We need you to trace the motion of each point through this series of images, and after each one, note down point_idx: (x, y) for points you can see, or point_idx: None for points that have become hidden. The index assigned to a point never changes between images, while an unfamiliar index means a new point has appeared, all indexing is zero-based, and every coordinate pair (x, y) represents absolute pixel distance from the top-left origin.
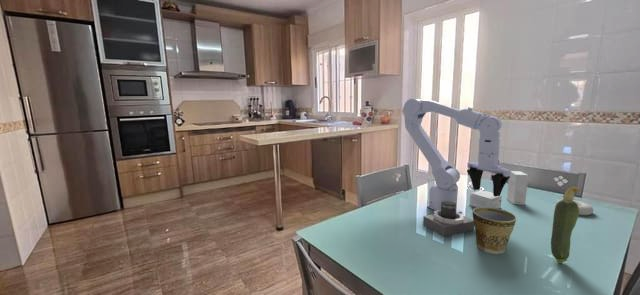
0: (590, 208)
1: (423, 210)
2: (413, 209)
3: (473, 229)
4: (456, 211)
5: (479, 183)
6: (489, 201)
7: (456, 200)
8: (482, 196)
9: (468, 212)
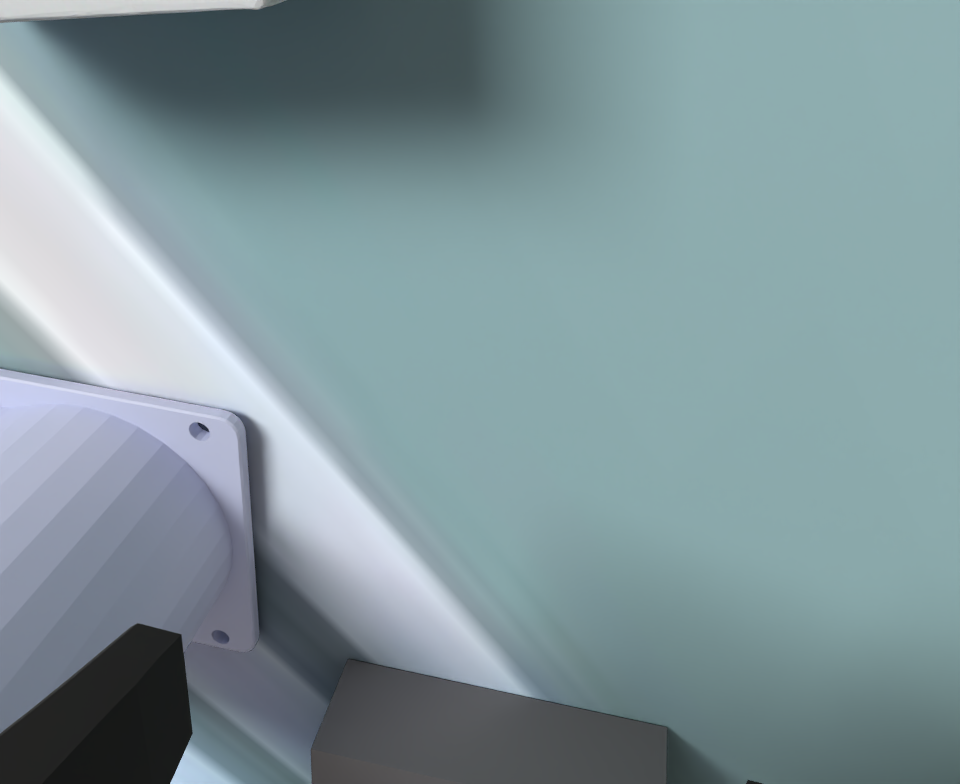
0: None
1: None
2: None
3: (666, 736)
4: (222, 495)
5: (73, 778)
6: (280, 2)
7: (130, 623)
8: (62, 15)
9: (271, 331)
